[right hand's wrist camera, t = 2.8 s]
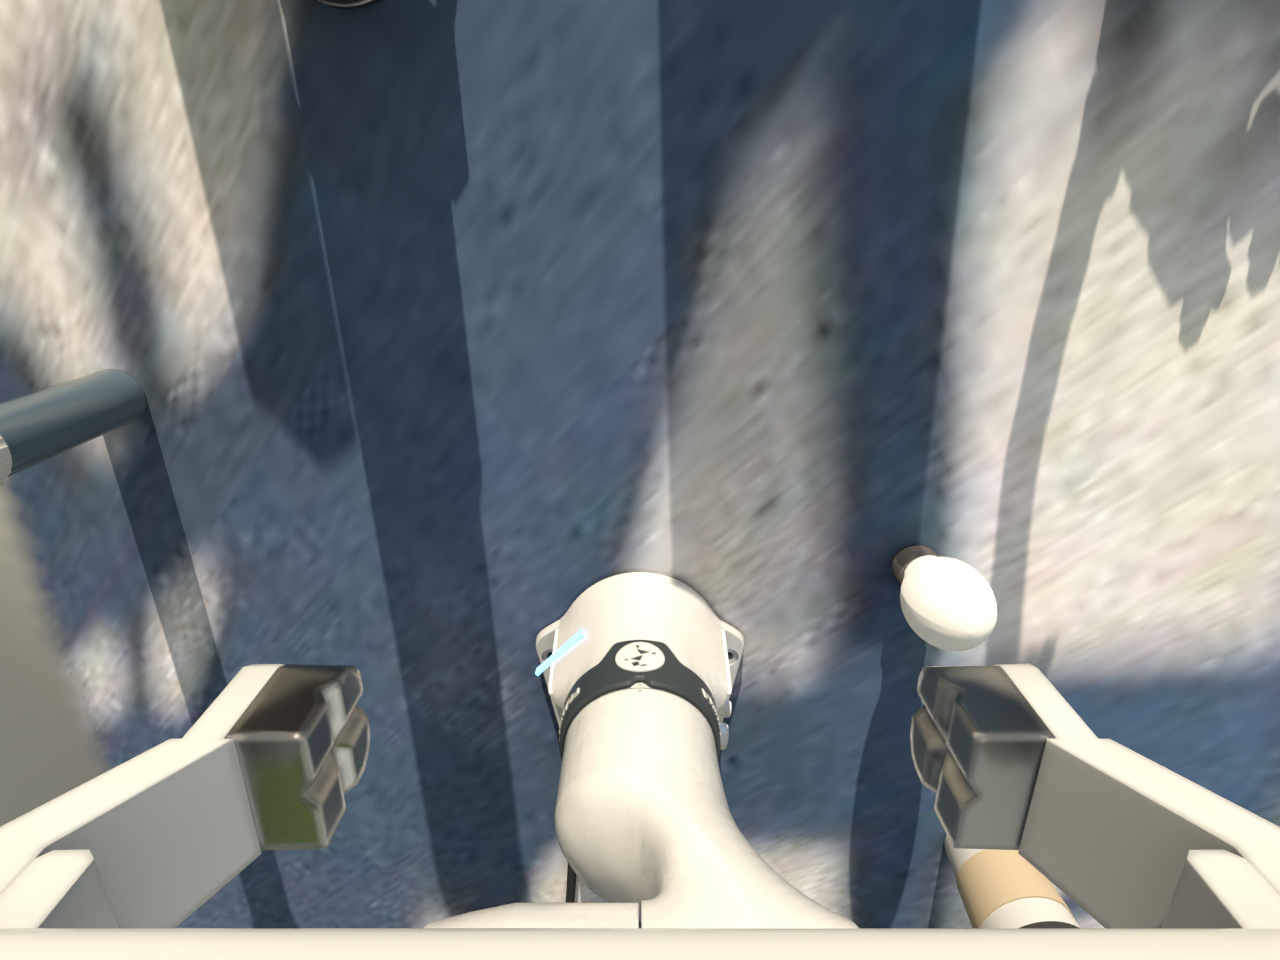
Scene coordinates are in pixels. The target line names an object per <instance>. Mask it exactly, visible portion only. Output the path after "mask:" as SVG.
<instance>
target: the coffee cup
mask: <svg viewBox="0 0 1280 960" xmlns="http://www.w3.org/2000/svg"><path fill="white" fill-rule="evenodd" d="M944 846H945V850H946V853H947V856H948V858H949V861H950V864H951V866H952V869H953V872H954V874H955V877H956V882H957V887H958V890H959V892H960V895H961V898H962V900H963V903H964V906H965V908H966V911H967V914H968V916H969V919H970V922H971V924H972V927H973V929H1081V928H1080V927H1079V925H1078V924H1077V922H1076V921H1075V920H1074V917H1073V914H1072V912H1071V911H1070V910H1069V908H1068V907H1067V905H1066V904H1065V902H1064V901H1063V899H1062V898H1061V897H1060V895H1059V894H1058V892H1057V891H1056V889H1055V888H1054V887H1053V885H1052V884H1051V882H1050V881H1049V879H1048V878H1046V877H1045V876H1044V875H1043V874H1042V873H1041V872H1039V871H1038V870H1037V869H1036V868H1035V867H1034V866H1032V865H1031V864H1030V863H1029V862H1028V861H1027V860H1025V859H1024V858H1023V857H1022V856H1021V855H1020V854H1018V852H1019V850H994V849H958V848H953V846H952V844H951V842H950V840H949V838H948V836H946V838H945V843H944Z"/></svg>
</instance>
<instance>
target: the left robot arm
mask: <svg viewBox="0 0 1280 960" xmlns="http://www.w3.org/2000/svg"><path fill="white" fill-rule="evenodd" d="M316 1H318V2H320V3H323V4H325V5H328V6H331V7H336V8H343V9H354V8H360V7H364V6H367V5H370V4H372V3H374V2H376V1H378V0H316Z"/></svg>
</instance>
